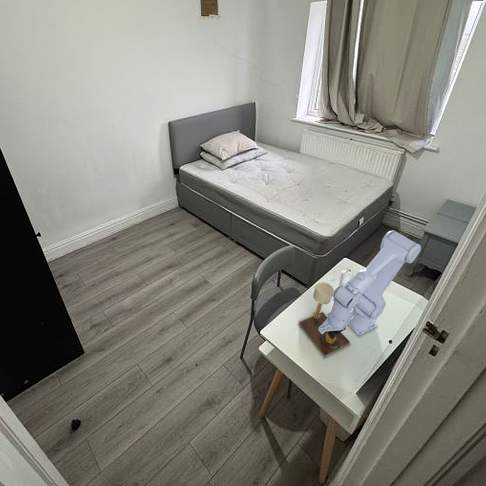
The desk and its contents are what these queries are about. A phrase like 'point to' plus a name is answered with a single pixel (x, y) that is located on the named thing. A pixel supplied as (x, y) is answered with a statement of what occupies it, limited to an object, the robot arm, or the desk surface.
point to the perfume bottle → (345, 276)
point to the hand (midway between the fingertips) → (331, 336)
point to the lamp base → (322, 335)
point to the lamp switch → (330, 339)
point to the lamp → (322, 296)
